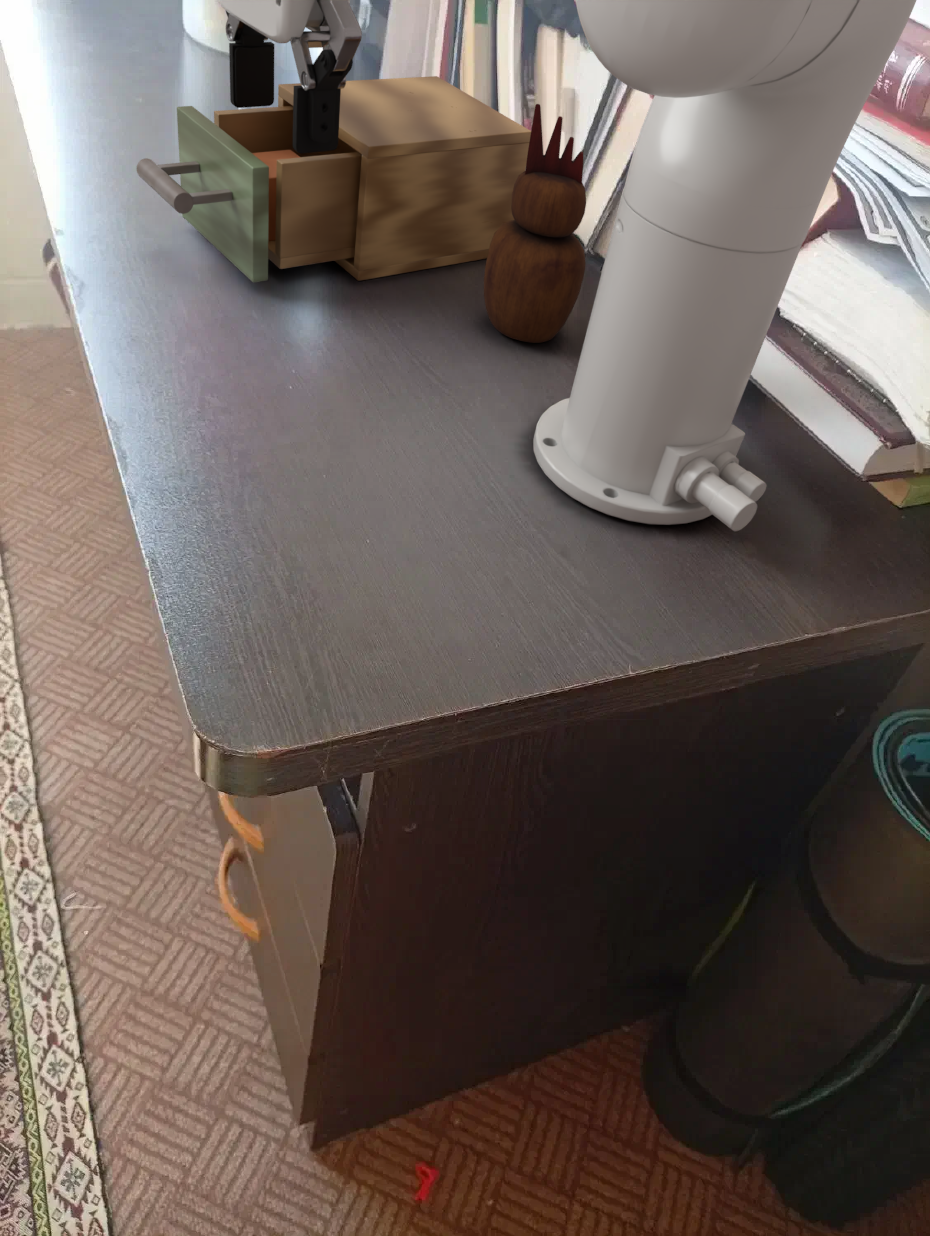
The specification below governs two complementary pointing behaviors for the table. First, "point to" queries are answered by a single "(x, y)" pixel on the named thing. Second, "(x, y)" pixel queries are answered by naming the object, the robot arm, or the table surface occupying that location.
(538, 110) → the wooden figurine
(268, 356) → the table surface
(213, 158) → the drawer
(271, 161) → the block
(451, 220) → the cabinet
